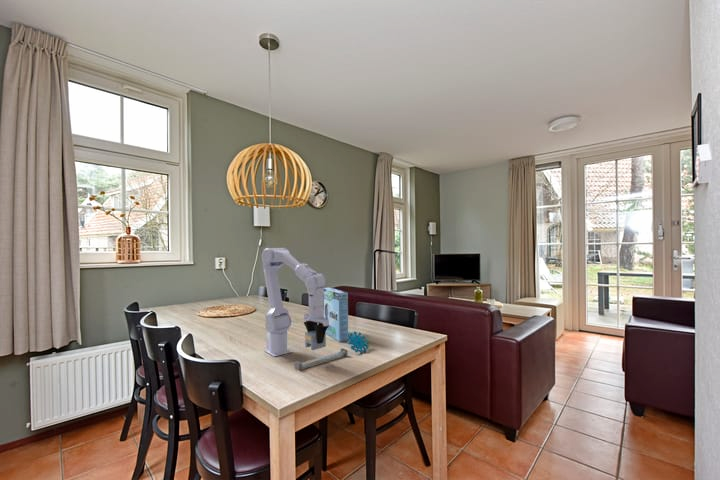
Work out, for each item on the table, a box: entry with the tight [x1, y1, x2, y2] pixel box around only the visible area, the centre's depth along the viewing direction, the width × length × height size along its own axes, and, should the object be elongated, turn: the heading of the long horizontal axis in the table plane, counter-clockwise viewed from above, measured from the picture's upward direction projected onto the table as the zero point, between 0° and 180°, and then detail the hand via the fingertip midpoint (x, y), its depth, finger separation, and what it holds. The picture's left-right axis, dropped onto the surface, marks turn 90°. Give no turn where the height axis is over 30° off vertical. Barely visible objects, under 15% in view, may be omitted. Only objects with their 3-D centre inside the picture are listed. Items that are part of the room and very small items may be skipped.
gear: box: [347, 331, 371, 354], centre depth 137 cm, size 11×6×10 cm
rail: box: [294, 348, 348, 371], centre depth 123 cm, size 3×22×2 cm, turn 131°
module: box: [304, 330, 327, 351], centre depth 121 cm, size 5×6×6 cm
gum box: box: [324, 287, 349, 343], centre depth 157 cm, size 20×5×23 cm, turn 28°
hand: (316, 341), depth 121 cm, fingers closed on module, 5 cm apart
